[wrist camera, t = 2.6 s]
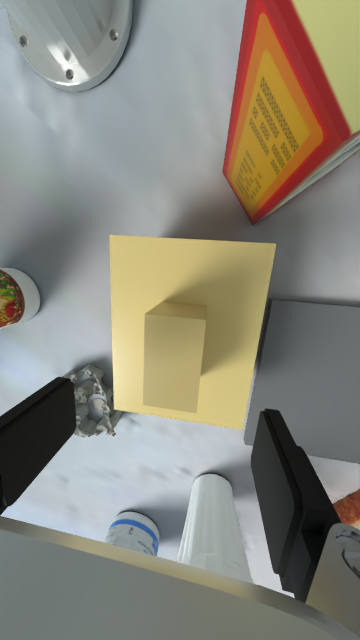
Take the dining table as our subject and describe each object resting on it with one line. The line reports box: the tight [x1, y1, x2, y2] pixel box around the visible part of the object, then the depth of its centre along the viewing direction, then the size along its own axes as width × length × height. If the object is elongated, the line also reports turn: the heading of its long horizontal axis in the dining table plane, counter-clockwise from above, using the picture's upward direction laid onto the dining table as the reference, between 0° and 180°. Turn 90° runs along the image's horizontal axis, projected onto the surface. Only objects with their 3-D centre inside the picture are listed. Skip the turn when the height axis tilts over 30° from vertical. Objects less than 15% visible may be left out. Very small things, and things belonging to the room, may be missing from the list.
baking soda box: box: [223, 0, 360, 226], centre depth 13 cm, size 10×6×16 cm
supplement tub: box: [104, 512, 160, 556], centre depth 31 cm, size 10×10×15 cm
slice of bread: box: [333, 489, 360, 530], centre depth 30 cm, size 18×18×4 cm
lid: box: [109, 235, 276, 430], centre depth 18 cm, size 18×14×8 cm
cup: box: [177, 474, 254, 584], centre depth 27 cm, size 10×10×13 cm
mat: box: [244, 299, 360, 464], centre depth 25 cm, size 21×17×1 cm
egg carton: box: [62, 364, 122, 437], centre depth 30 cm, size 11×8×4 cm
